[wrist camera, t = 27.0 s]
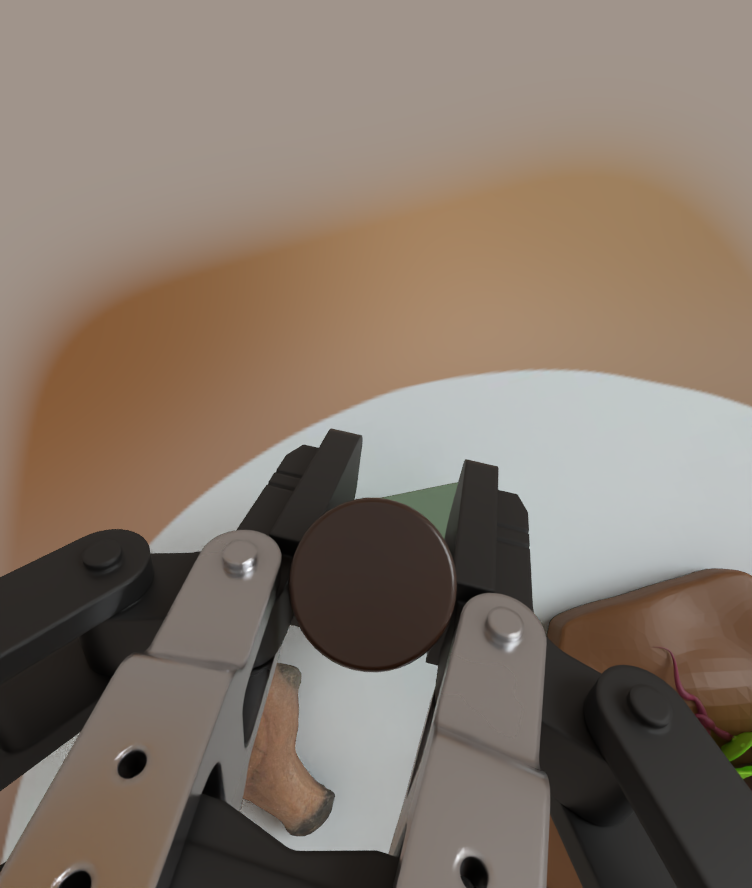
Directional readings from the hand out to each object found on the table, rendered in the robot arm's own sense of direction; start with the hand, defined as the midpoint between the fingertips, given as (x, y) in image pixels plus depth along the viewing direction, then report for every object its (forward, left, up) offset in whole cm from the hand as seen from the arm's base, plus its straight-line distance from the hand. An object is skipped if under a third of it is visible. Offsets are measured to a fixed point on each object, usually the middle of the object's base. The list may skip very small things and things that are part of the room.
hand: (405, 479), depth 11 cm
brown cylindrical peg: (-1, -2, -5) cm, 5 cm away
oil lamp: (-10, -9, -17) cm, 22 cm away
